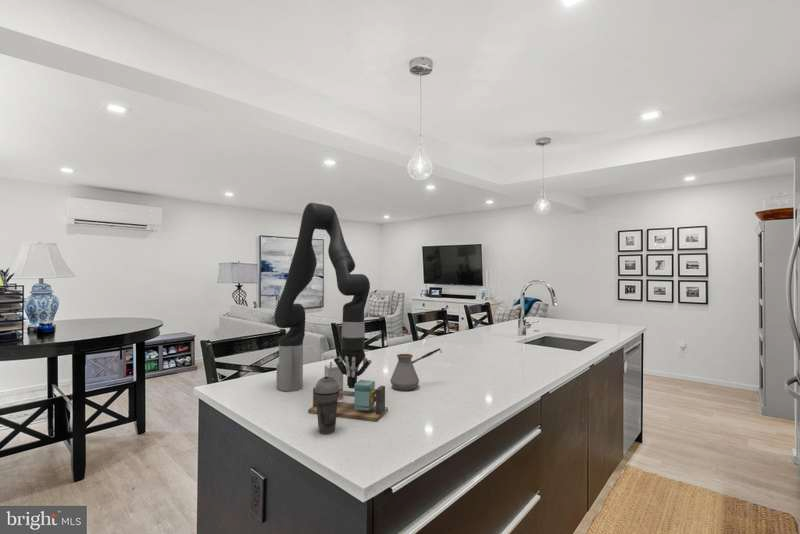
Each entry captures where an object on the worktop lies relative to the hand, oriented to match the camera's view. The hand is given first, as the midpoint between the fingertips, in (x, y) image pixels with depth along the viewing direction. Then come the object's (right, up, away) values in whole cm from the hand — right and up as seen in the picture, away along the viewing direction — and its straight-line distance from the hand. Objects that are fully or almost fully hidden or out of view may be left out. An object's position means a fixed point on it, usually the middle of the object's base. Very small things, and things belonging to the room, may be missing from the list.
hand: (352, 387), depth 128 cm
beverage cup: (-6, -8, -15) cm, 18 cm away
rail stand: (-1, -8, +1) cm, 8 cm away
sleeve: (+4, -6, -1) cm, 7 cm away
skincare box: (-8, -9, +14) cm, 19 cm away
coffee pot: (+22, -9, +29) cm, 37 cm away
